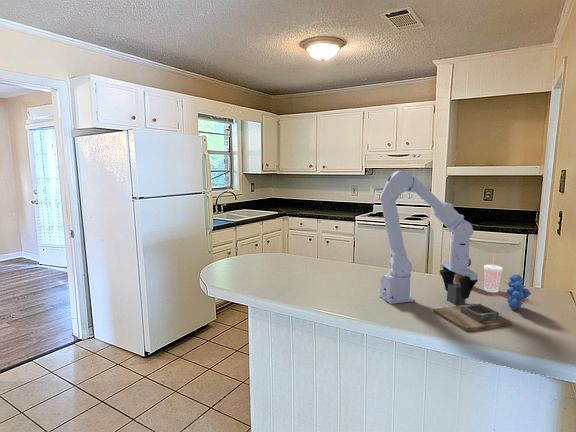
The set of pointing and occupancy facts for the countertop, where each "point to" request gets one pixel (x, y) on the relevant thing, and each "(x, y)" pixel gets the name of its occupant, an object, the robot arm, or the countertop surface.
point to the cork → (461, 275)
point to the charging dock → (472, 317)
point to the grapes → (516, 292)
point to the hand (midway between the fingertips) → (456, 294)
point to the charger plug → (455, 294)
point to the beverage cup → (492, 277)
